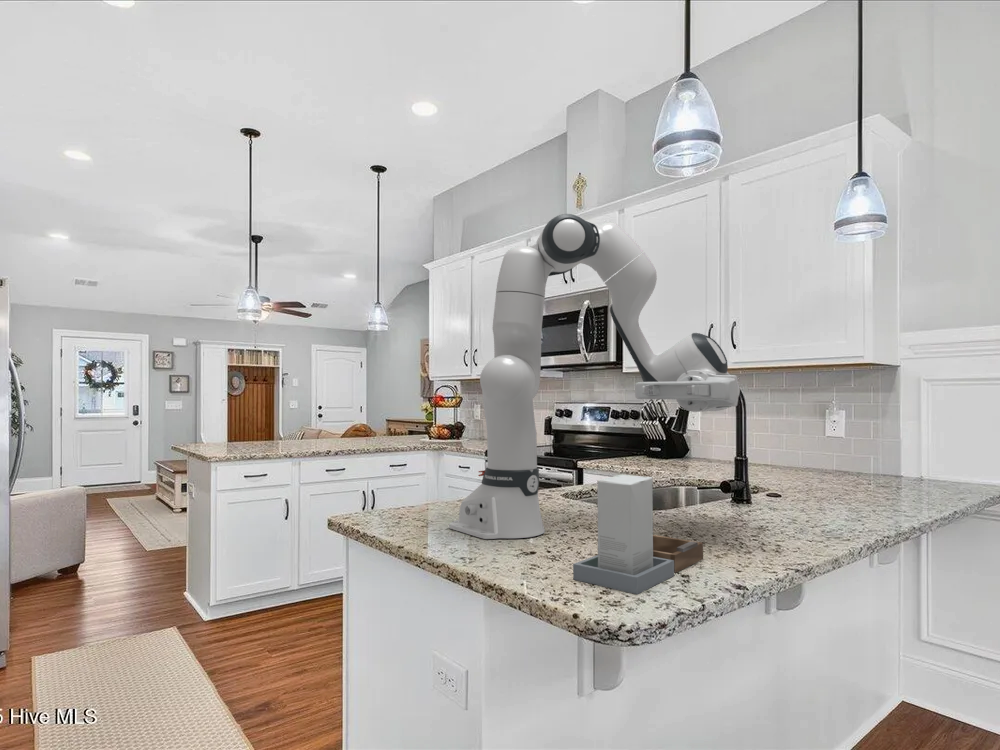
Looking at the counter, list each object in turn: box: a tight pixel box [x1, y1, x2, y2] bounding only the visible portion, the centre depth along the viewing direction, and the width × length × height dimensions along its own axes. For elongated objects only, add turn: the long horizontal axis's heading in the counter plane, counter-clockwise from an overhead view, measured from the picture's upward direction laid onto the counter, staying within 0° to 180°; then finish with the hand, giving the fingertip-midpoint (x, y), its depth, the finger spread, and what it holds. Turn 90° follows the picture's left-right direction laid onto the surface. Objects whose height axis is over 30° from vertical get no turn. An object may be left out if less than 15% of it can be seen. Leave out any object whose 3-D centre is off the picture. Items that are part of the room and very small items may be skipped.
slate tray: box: [572, 554, 675, 595], centre depth 99 cm, size 12×13×2 cm
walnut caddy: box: [653, 534, 704, 574], centre depth 109 cm, size 11×12×4 cm
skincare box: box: [596, 474, 654, 575], centre depth 99 cm, size 8×7×16 cm
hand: (667, 390), depth 117 cm, fingers open, 8 cm apart
